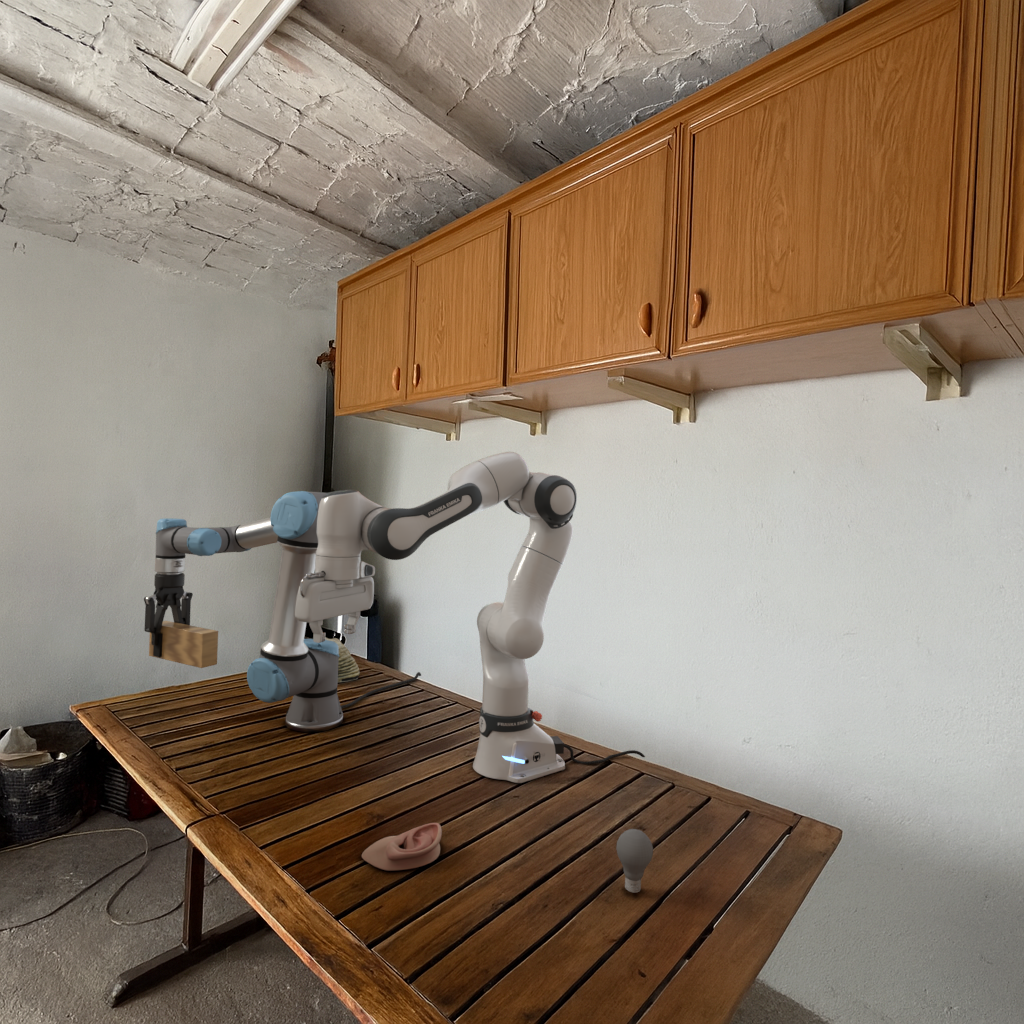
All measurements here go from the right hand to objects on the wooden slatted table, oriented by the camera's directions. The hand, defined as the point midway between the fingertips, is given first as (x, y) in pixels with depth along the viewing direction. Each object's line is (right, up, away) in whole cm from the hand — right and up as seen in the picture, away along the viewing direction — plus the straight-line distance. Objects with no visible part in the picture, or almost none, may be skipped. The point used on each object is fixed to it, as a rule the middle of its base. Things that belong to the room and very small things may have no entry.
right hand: (335, 637), depth 128 cm
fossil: (-26, -32, +88) cm, 97 cm away
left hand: (-62, -15, +52) cm, 83 cm away
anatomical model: (+16, -36, -15) cm, 42 cm away
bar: (-56, -16, +49) cm, 76 cm away
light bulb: (+56, -38, -23) cm, 71 cm away
